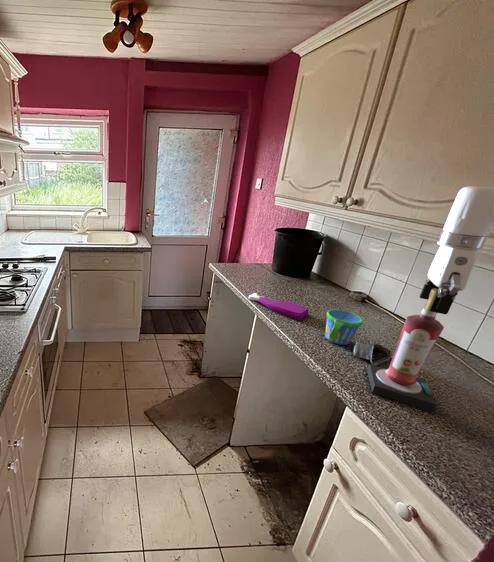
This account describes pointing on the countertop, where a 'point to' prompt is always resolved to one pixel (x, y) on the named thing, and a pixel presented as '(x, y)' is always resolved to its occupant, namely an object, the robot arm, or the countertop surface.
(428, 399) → the scale
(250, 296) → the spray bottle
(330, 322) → the snack cup
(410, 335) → the liquor
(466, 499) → the countertop surface
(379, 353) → the grey open container
